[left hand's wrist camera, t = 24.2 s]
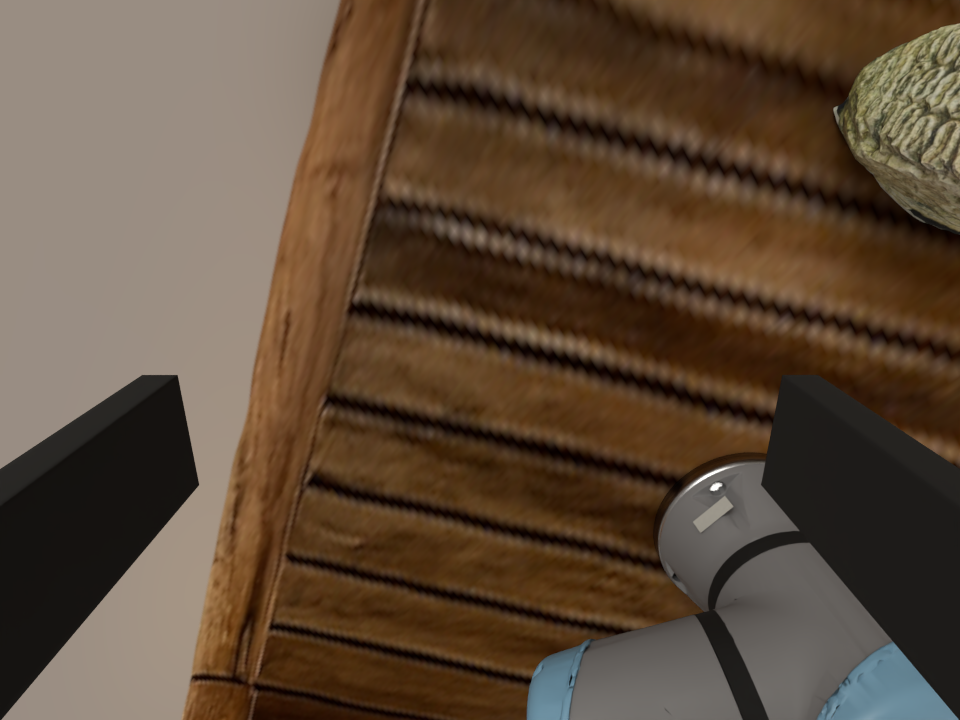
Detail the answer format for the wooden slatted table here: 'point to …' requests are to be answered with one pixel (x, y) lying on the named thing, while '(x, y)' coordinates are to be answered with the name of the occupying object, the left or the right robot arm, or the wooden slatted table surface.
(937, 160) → the fossil
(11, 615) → the left robot arm
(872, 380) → the wooden slatted table surface
